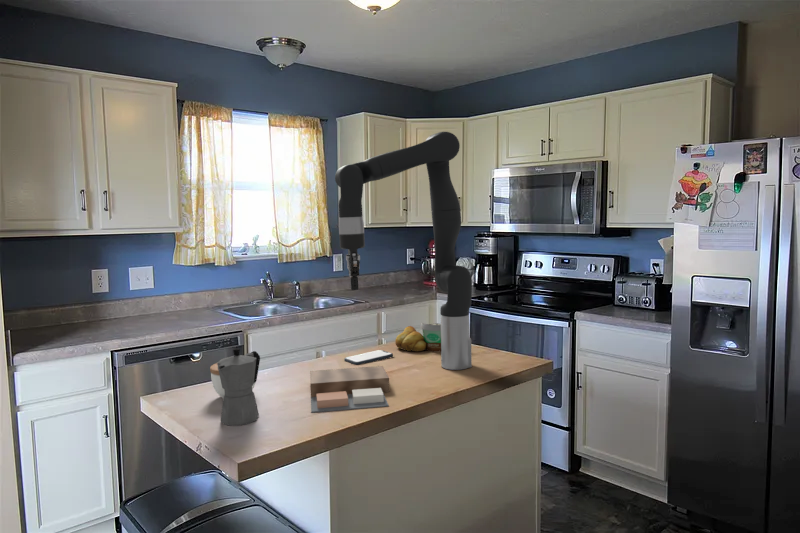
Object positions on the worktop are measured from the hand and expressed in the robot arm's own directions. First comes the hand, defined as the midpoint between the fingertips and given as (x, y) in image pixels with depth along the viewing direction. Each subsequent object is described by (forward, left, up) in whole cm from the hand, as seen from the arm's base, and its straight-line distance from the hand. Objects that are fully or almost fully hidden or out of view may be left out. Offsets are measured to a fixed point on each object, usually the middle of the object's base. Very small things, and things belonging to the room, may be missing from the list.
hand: (354, 289), depth 166 cm
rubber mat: (+4, +21, -28) cm, 35 cm away
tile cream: (-1, +21, -26) cm, 34 cm away
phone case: (-6, -24, -28) cm, 37 cm away
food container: (-32, -29, -28) cm, 51 cm away
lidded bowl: (+35, +8, -28) cm, 46 cm away
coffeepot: (+31, +26, -28) cm, 49 cm away
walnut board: (+3, +8, -28) cm, 29 cm away
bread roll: (-23, -33, -28) cm, 49 cm away
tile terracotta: (+9, +22, -26) cm, 35 cm away
